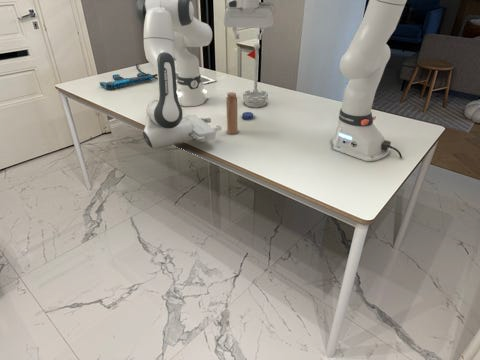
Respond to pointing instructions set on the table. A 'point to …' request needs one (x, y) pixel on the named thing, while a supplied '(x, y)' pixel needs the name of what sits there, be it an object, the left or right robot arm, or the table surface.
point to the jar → (232, 113)
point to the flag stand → (255, 85)
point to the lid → (247, 115)
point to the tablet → (202, 79)
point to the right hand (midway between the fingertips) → (248, 39)
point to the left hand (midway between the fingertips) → (215, 123)
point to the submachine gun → (126, 80)
